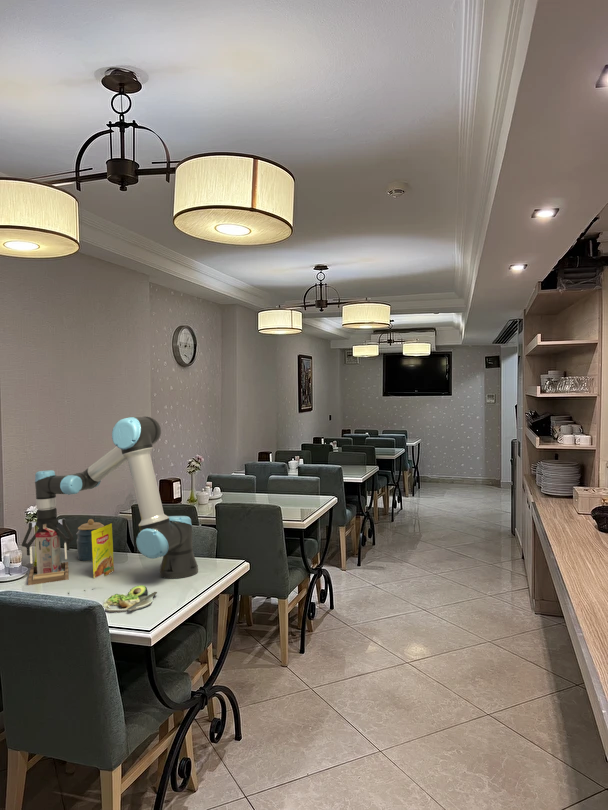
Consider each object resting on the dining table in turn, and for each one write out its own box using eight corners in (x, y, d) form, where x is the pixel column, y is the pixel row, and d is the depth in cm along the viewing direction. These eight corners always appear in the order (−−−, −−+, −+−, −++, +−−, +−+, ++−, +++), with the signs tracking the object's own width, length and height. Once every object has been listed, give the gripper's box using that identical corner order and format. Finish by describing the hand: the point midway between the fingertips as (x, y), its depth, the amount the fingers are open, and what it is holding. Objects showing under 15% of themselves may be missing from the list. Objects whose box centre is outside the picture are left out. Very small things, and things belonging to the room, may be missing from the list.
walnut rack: (68, 583, 231) (68, 574, 231) (28, 588, 226) (28, 579, 226) (68, 570, 251) (68, 561, 251) (31, 575, 245) (30, 566, 245)
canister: (78, 555, 275) (76, 518, 275) (107, 552, 279) (105, 515, 279) (76, 562, 263) (74, 523, 263) (107, 559, 267) (105, 520, 267)
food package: (95, 582, 231) (92, 531, 231) (92, 582, 231) (90, 531, 231) (115, 571, 246) (112, 523, 246) (112, 570, 246) (110, 523, 246)
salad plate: (155, 612, 194) (154, 598, 194) (98, 619, 191) (97, 604, 191) (158, 594, 213) (157, 581, 213) (106, 599, 210) (105, 587, 210)
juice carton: (61, 574, 245) (59, 521, 245) (53, 578, 238) (50, 524, 238) (46, 574, 246) (43, 521, 246) (37, 579, 239) (35, 524, 239)
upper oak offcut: (64, 579, 232) (63, 574, 232) (33, 583, 229) (33, 578, 229) (64, 575, 237) (64, 570, 237) (34, 579, 233) (34, 574, 233)
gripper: (78, 503, 250) (80, 554, 250) (14, 510, 241) (16, 562, 241) (78, 506, 243) (81, 558, 243) (12, 513, 234) (15, 567, 234)
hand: (49, 560), depth 242 cm, fingers open, 12 cm apart
